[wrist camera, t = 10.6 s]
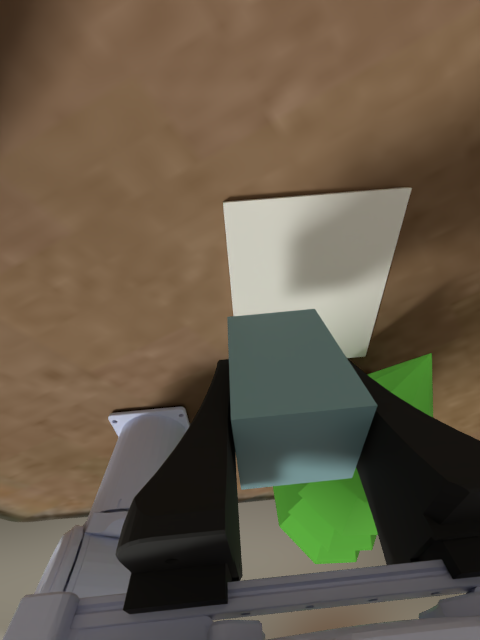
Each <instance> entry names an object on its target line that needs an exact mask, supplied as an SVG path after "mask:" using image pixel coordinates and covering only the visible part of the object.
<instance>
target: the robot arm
mask: <svg viewBox="0 0 480 640" xmlns="http://www.w3.org/2000/svg"><path fill="white" fill-rule="evenodd" d="M348 361H349V362H350V364H351V365H352V367H353V368H354V370H355V371H356V373H357V375H358V376H359V378H360V379H361V381H362V382H363V384H364V385H365V387H366V388H367V390H368V391H369V393H370V395H371V396H372V398H373V399H374V401H375V402H376V404H377V405H378V406H377V408H376V411H375V414H374V417H373V420H372V423H371V426H370V428H369V431H368V434H367V437H366V440H365V443H364V445H363V448H362V451H361V454H360V457H359V460H358V463H357V465H356V469H357V471H358V474H359V477H360V480H361V483H362V486H363V489H364V492H365V495H366V498H367V501H368V504H369V507H370V510H371V513H372V516H373V519H374V523H375V526H376V529H377V533H378V536H379V539H380V542H381V546H382V549H383V553H384V557H385V560H386V564H387V565H384V566H375V567H366V568H356V569H347V570H337V571H328V572H319V573H309V574H300V575H291V576H281V577H272V578H262V579H253V580H244V581H240V579H241V578H242V562H241V546H240V530H239V515H238V497H237V479H236V458H235V444H234V437H233V431H232V424H231V408H230V377H229V359H226V360H219V361H218V363H217V368H216V371H215V374H214V377H213V380H212V382H211V385H210V387H209V390H208V392H207V394H206V396H205V399H204V401H203V403H202V405H201V407H200V409H199V411H198V412H197V414H196V416H195V418H194V420H193V421H192V423H191V425H190V424H189V420H188V417H187V413H186V410H185V408H184V407H170V408H160V409H149V410H138V411H128V412H117V413H111V414H110V415H109V417H108V419H109V421H110V423H111V424H112V426H113V428H114V430H115V431H116V433H117V435H118V437H119V438H118V441H117V443H116V446H115V448H114V451H113V454H112V456H111V459H110V461H109V464H108V467H107V469H106V472H105V474H104V477H103V480H102V482H101V485H100V488H99V490H98V493H97V495H96V498H95V501H94V503H93V506H92V508H91V511H90V514H89V516H88V519H87V521H86V522H85V524H84V525H83V526H79V525H76V526H74V527H73V528H72V529H71V530H69V531H68V532H67V533H65V534H64V535H63V536H62V537H61V539H60V541H59V543H58V545H57V546H56V548H55V550H54V552H53V554H52V556H51V558H50V560H49V562H48V565H47V567H46V569H45V571H44V573H43V575H42V577H41V580H40V582H39V584H38V586H37V589H36V591H35V593H34V594H31V595H25V596H24V597H23V598H22V599H21V601H20V603H19V605H18V607H17V609H16V612H15V614H14V616H13V618H12V620H11V623H10V624H9V627H8V629H7V631H6V633H5V635H4V637H3V640H265V634H264V633H263V631H262V624H261V623H260V621H255V620H223V621H217V622H213V621H212V620H219V619H228V618H238V617H247V616H256V615H265V614H275V613H284V612H293V611H302V610H311V609H321V608H330V607H338V606H348V605H357V604H367V603H376V602H385V601H393V600H403V599H413V598H422V597H430V596H440V595H450V594H459V593H466V594H464V595H460V596H455V597H451V598H446V599H442V600H439V602H438V604H437V605H436V606H434V607H433V608H431V609H429V610H426V611H424V612H422V613H420V614H419V619H413V620H402V621H393V622H383V623H374V624H366V625H359V626H352V627H344V628H338V629H331V630H324V631H317V632H311V633H305V634H299V635H293V636H287V637H280V638H274V639H268V640H480V441H479V440H477V439H475V438H473V437H471V436H469V435H466V434H464V433H462V432H460V431H458V430H456V429H454V428H452V427H450V426H448V425H446V424H444V423H442V422H440V421H438V420H437V419H435V418H433V417H431V416H429V415H427V414H425V413H424V412H422V411H420V410H419V409H417V408H415V407H413V406H412V405H410V404H409V403H407V402H405V401H404V400H402V399H401V398H399V397H397V396H396V395H394V394H393V393H391V392H390V391H389V390H387V389H386V388H384V387H383V386H382V385H380V384H379V383H377V382H376V381H375V380H373V379H372V378H371V377H369V376H368V375H367V374H366V373H364V372H363V371H362V370H361V369H359V368H358V367H357V366H356V365H354V364H353V363H352V362H351V361H350V360H348Z"/></svg>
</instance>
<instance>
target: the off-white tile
mask: <svg viewBox="0 0 480 640" xmlns="http://www.w3.org/2000/svg"><path fill="white" fill-rule="evenodd" d="M411 189H412V188H410V187H401V188H388V189H376V190H363V191H351V192H338V193H325V194H313V195H300V196H288V197H275V198H263V199H250V200H238V201H225V202H223V207H224V218H225V229H226V240H227V250H228V261H229V272H230V283H231V293H232V304H233V315H234V316H243V315H253V314H264V313H274V312H285V311H296V310H306V309H315V310H316V311H317V313H318V314H319V316H320V318H321V319H322V321H323V322H324V324H325V325H326V327H327V328H328V330H329V331H330V333H331V334H332V336H333V338H334V339H335V341H336V342H337V344H338V345H339V347H340V348H341V350H342V351H343V353H344V354H345V356H346V358H354V357H365V356H366V353H367V349H368V346H369V342H370V338H371V335H372V331H373V327H374V324H375V320H376V316H377V313H378V309H379V306H380V302H381V298H382V295H383V291H384V287H385V284H386V280H387V276H388V273H389V269H390V266H391V262H392V258H393V255H394V251H395V247H396V244H397V240H398V236H399V233H400V229H401V225H402V222H403V218H404V215H405V211H406V207H407V204H408V200H409V196H410V193H411Z"/></svg>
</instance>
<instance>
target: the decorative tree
mask: <svg viewBox="0 0 480 640" xmlns="http://www.w3.org/2000/svg"><path fill="white" fill-rule="evenodd" d="M367 375H368V376H369V377H371V378H372V379H373V380H375V381H376V382H377V383H379V384H380V385H382V386H383V387H384V388H386V389H387V390H389V391H390V392H391V393H393V394H394V395H396V396H397V397H399V398H401V399H402V400H404V401H405V402H407V403H409V404H410V405H412V406H413V407H415V408H417V409H419V410H420V411H422V412H424V413H425V414H427V415H429V416H431V417H433V389H432V353H430V354H427V355H424V356H421V357H418V358H415V359H412V360H409V361H406V362H403V363H400V364H397V365H394V366H391V367H388V368H385V369H382V370H379V371H376V372H373V373H370V374H367ZM273 490H274V496H275V502H276V508H277V515H278V521H279V526H280V528H281V529H282V530H283V531H284V532H285V533H287V535H288V536H289V537H290V538H291V539H292V540H293V541H294V542H295V543H296V544H297V545H298V546H299V547H300V548H301V549H302V551H303V552H305V554H306V555H307V556H308V557H309V558H310V559H311V560H312V561H313V562H314V563H315V564H325V563H345V562H346V563H347V562H356V561H357V557H358V554H359V551H360V550H372V549H373V545H374V542H375V539H376V535H378V533H377V529H376V526H375V523H374V519H373V516H372V513H371V510H370V507H369V504H368V501H367V498H366V495H365V492H364V489H363V486H362V483H361V480H360V477H359V474H358V471H357V469H356V468H355V471H354V474H353V477H352V478H348V479H339V480H329V481H319V482H309V483H300V484H290V485H280V486H273Z"/></svg>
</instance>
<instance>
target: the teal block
mask: <svg viewBox="0 0 480 640" xmlns="http://www.w3.org/2000/svg"><path fill="white" fill-rule="evenodd" d="M228 347H229V377H230V408H231V424H232V431H233V437H234V444H235V451H236V457H237V464H238V471H239V477H240V484H241V490H242V489H251V488H261V487H271V486H280V485H290V484H300V483H309V482H319V481H329V480H339V479H348V478H352V477H353V474H354V471H355V468H356V465H357V463H358V460H359V457H360V454H361V451H362V448H363V445H364V443H365V440H366V437H367V434H368V431H369V428H370V426H371V423H372V420H373V417H374V414H375V411H376V408H377V406H378V405H377V404H376V402H375V401H374V399H373V398H372V396H371V395H370V393H369V391H368V390H367V388H366V387H365V385H364V384H363V382H362V381H361V379H360V378H359V376H358V375H357V373H356V371H355V370H354V368H353V367H352V365H351V364H350V362H349V361H348V359H347V358H346V356H345V354H344V353H343V351H342V350H341V348H340V347H339V345H338V344H337V342H336V341H335V339H334V338H333V336H332V334H331V333H330V331H329V330H328V328H327V327H326V325H325V324H324V322H323V321H322V319H321V318H320V316H319V314H318V313H317V311H316V310H315V309H306V310H296V311H285V312H274V313H264V314H253V315H243V316H232V317H228Z"/></svg>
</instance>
